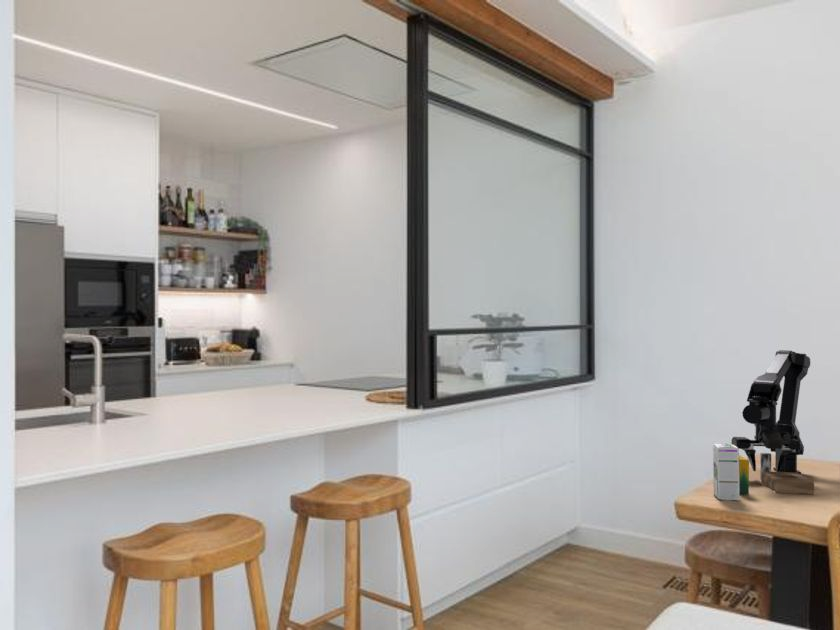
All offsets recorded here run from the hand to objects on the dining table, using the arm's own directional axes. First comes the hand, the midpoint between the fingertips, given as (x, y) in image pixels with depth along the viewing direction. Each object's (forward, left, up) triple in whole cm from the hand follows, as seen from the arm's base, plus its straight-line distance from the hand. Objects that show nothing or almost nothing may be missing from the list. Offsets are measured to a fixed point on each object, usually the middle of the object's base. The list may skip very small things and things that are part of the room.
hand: (765, 471), depth 214 cm
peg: (0, 0, -2) cm, 2 cm away
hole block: (+11, +2, -2) cm, 11 cm away
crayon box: (+17, -13, -3) cm, 22 cm away
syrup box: (+25, -19, -3) cm, 32 cm away
